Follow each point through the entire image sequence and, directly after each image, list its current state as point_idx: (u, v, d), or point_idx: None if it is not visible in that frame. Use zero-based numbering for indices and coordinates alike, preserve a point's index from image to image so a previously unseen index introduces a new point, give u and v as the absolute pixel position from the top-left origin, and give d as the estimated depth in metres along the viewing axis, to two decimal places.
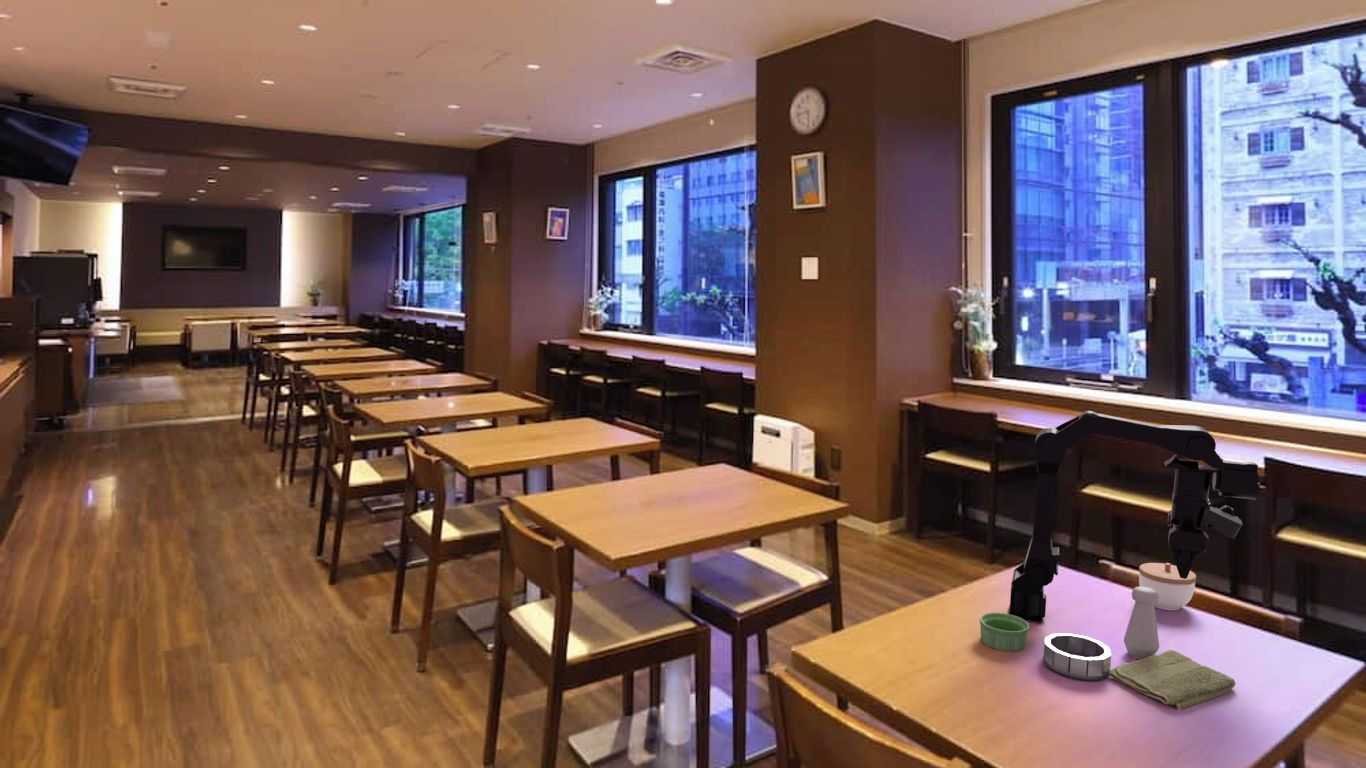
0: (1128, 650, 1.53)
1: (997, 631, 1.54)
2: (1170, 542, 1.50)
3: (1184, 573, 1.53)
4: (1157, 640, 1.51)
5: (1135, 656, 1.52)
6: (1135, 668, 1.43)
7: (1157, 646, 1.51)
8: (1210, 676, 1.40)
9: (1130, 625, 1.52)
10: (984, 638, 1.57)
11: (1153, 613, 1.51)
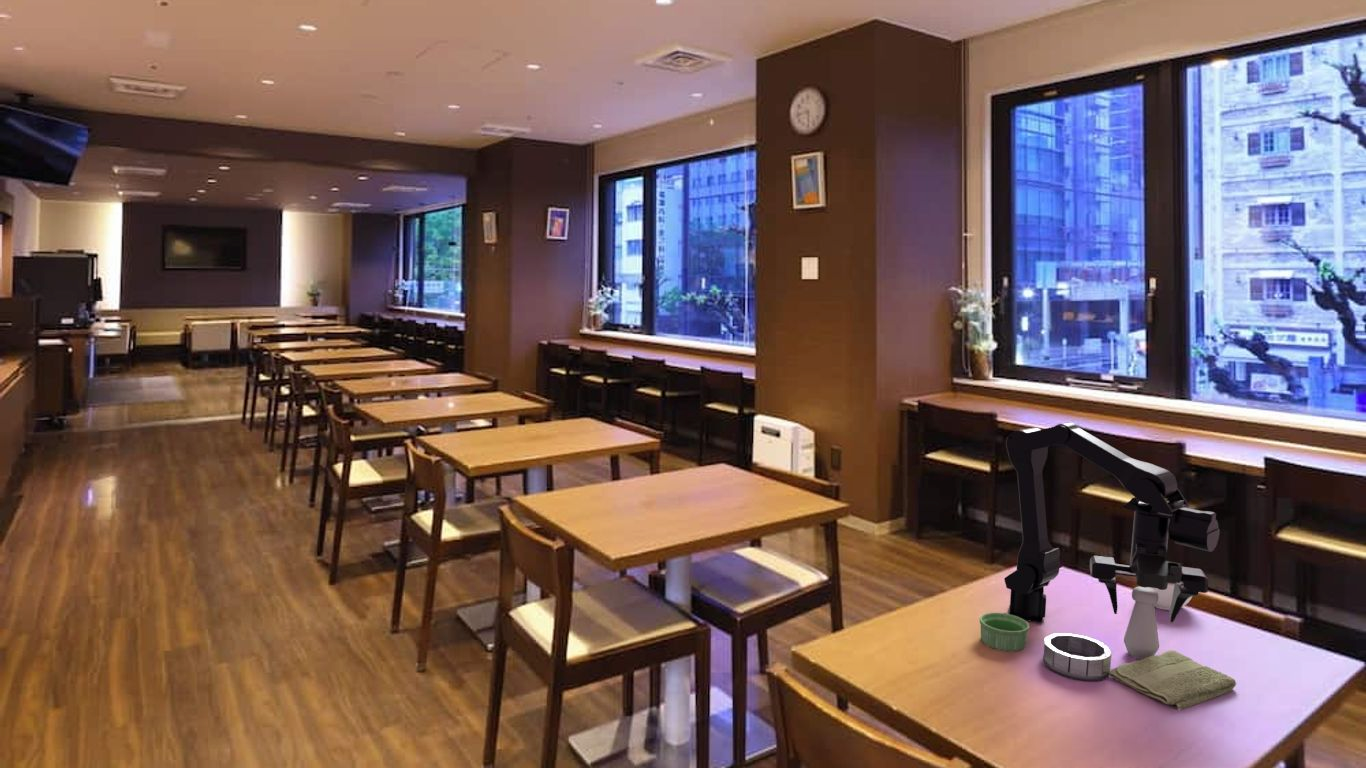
0: (1128, 650, 1.53)
1: (997, 631, 1.54)
2: None
3: None
4: (1157, 640, 1.51)
5: (1135, 656, 1.52)
6: (1136, 668, 1.43)
7: (1157, 646, 1.51)
8: (1210, 676, 1.40)
9: (1130, 625, 1.52)
10: (984, 638, 1.57)
11: (1153, 613, 1.51)
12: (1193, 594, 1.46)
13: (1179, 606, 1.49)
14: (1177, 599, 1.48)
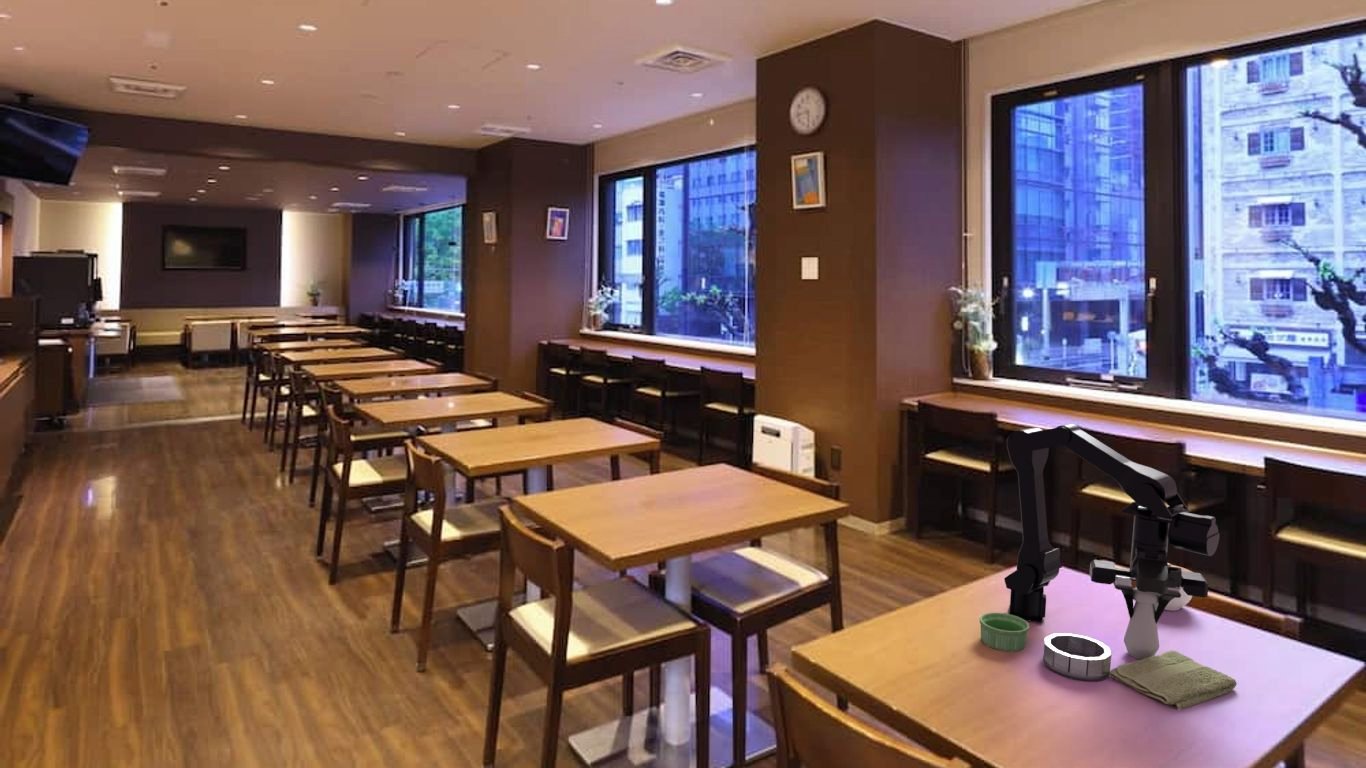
0: (1128, 650, 1.53)
1: (997, 631, 1.54)
2: None
3: (1129, 614, 1.53)
4: (1157, 640, 1.51)
5: (1135, 656, 1.52)
6: (1136, 668, 1.43)
7: (1157, 646, 1.51)
8: (1210, 676, 1.40)
9: (1130, 625, 1.52)
10: (984, 638, 1.57)
11: (1153, 613, 1.51)
12: (1176, 596, 1.47)
13: (1162, 608, 1.50)
14: (1160, 601, 1.50)
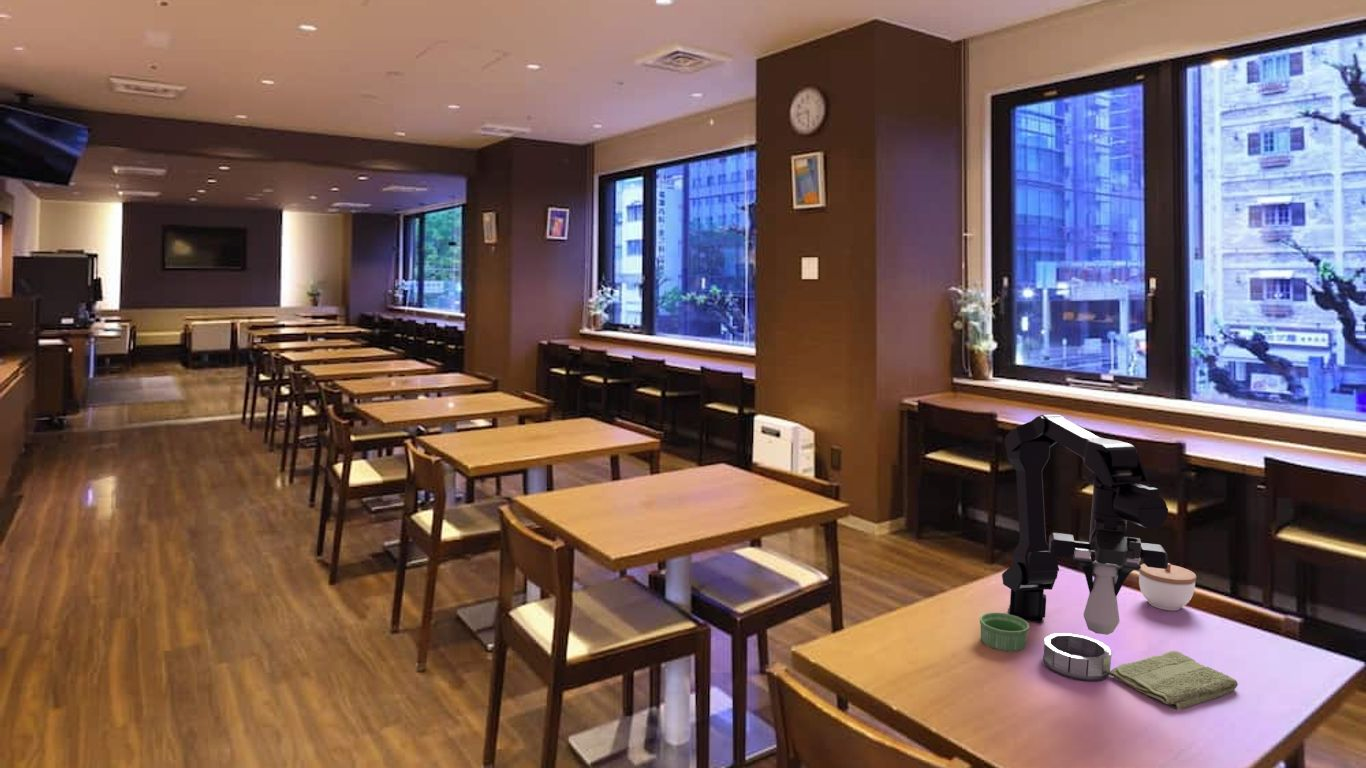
0: (1088, 625, 1.48)
1: (997, 631, 1.54)
2: None
3: None
4: (1117, 614, 1.47)
5: (1095, 631, 1.47)
6: (1136, 668, 1.43)
7: (1117, 620, 1.46)
8: (1211, 677, 1.40)
9: (1090, 599, 1.48)
10: (984, 638, 1.57)
11: (1113, 586, 1.46)
12: (1135, 568, 1.43)
13: (1122, 581, 1.45)
14: (1120, 574, 1.45)
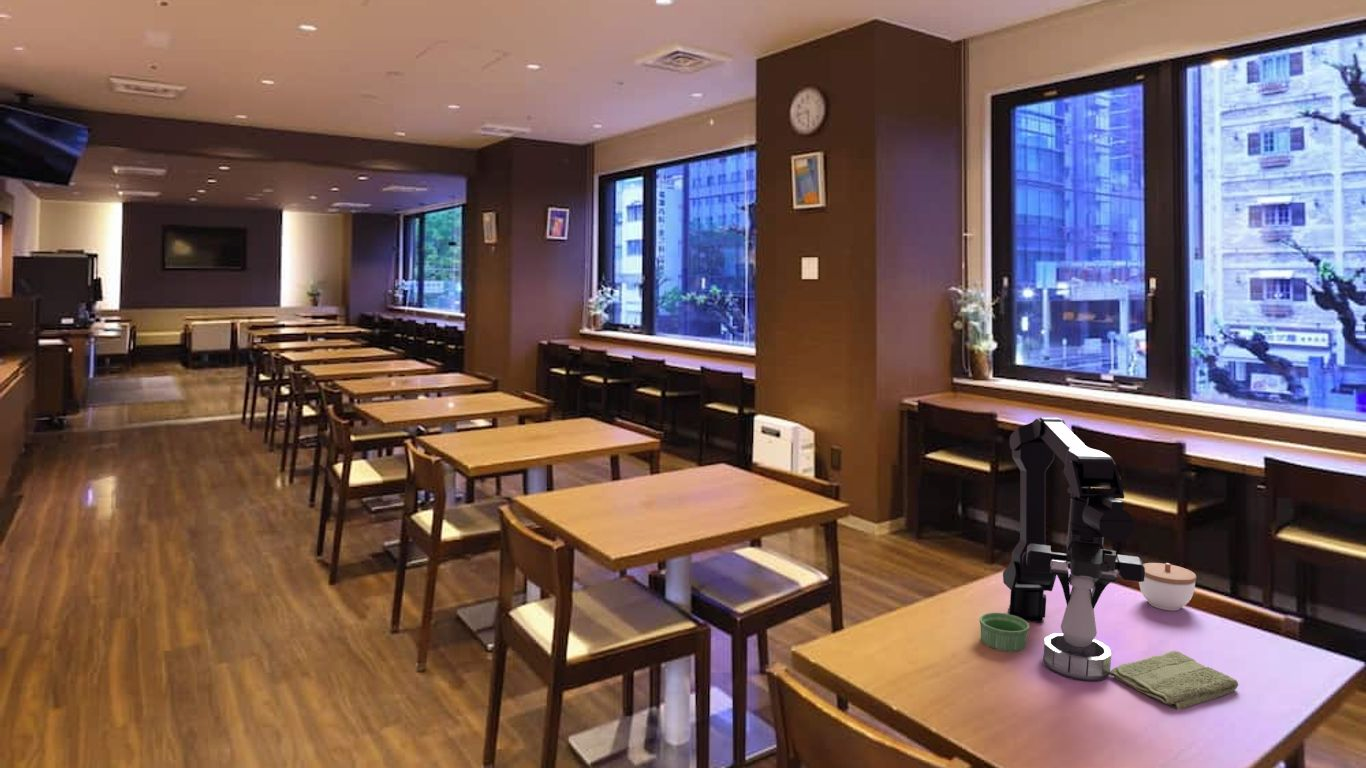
0: (1065, 637, 1.47)
1: (997, 631, 1.54)
2: None
3: None
4: (1094, 626, 1.45)
5: (1072, 643, 1.46)
6: (1137, 668, 1.43)
7: (1094, 633, 1.45)
8: (1212, 677, 1.40)
9: (1067, 611, 1.47)
10: (984, 638, 1.57)
11: (1090, 598, 1.45)
12: (1112, 580, 1.42)
13: (1099, 593, 1.44)
14: (1096, 586, 1.44)
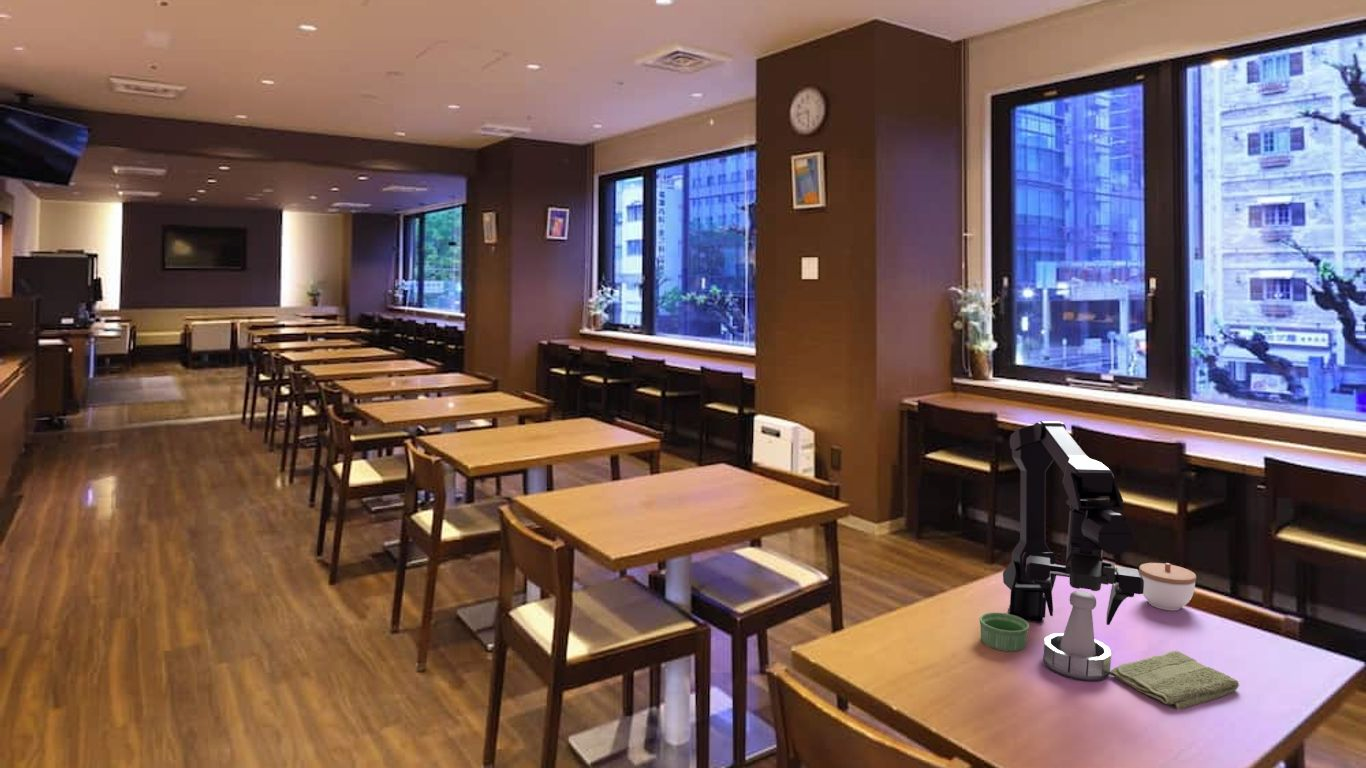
0: None
1: (997, 631, 1.54)
2: None
3: (1048, 609, 1.49)
4: (1093, 647, 1.45)
5: None
6: (1137, 668, 1.43)
7: (1093, 653, 1.45)
8: (1212, 677, 1.40)
9: (1066, 630, 1.47)
10: (984, 637, 1.57)
11: (1090, 619, 1.45)
12: (1128, 595, 1.41)
13: (1115, 608, 1.43)
14: (1113, 601, 1.43)
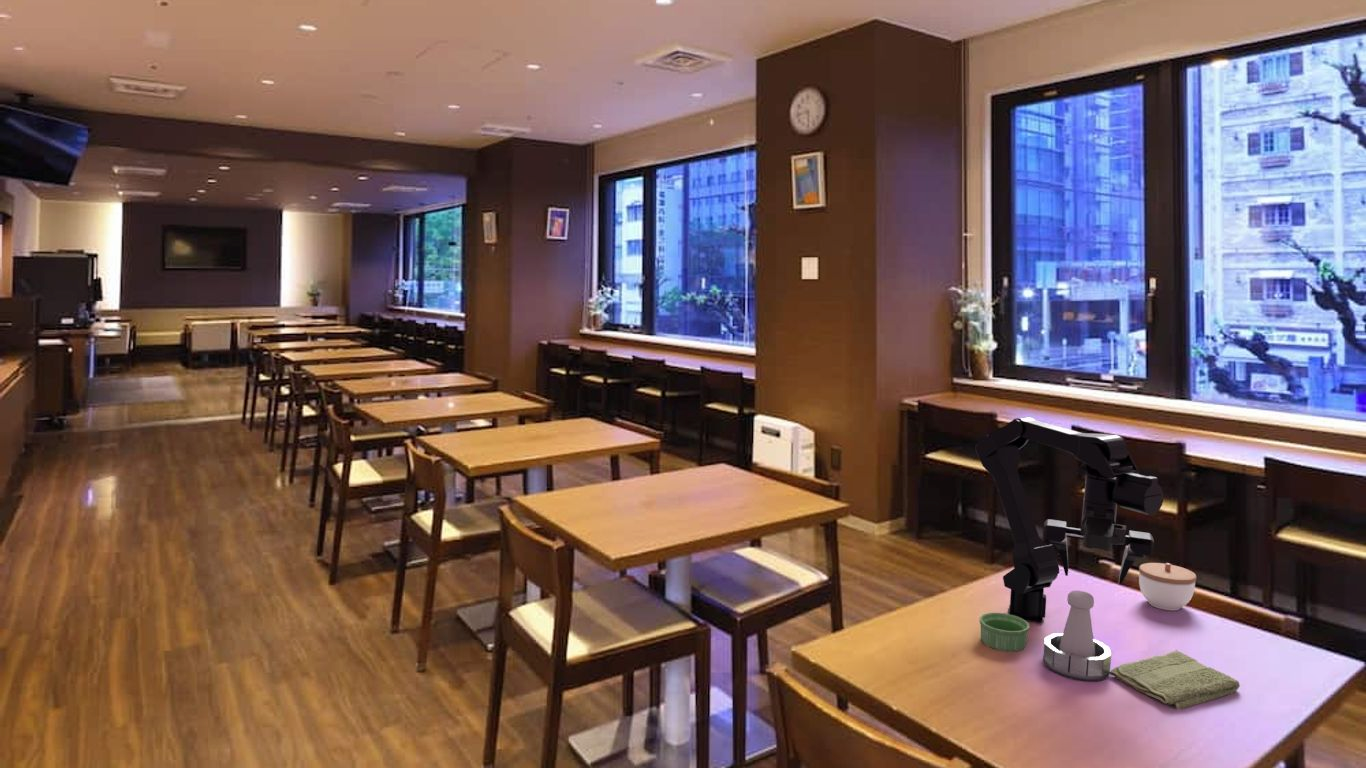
0: None
1: (997, 631, 1.54)
2: None
3: (1064, 569, 1.59)
4: (1092, 646, 1.46)
5: None
6: (1137, 668, 1.43)
7: (1092, 653, 1.45)
8: (1213, 677, 1.40)
9: (1065, 630, 1.47)
10: (984, 638, 1.57)
11: (1088, 618, 1.45)
12: (1139, 556, 1.50)
13: (1127, 568, 1.53)
14: (1125, 561, 1.53)
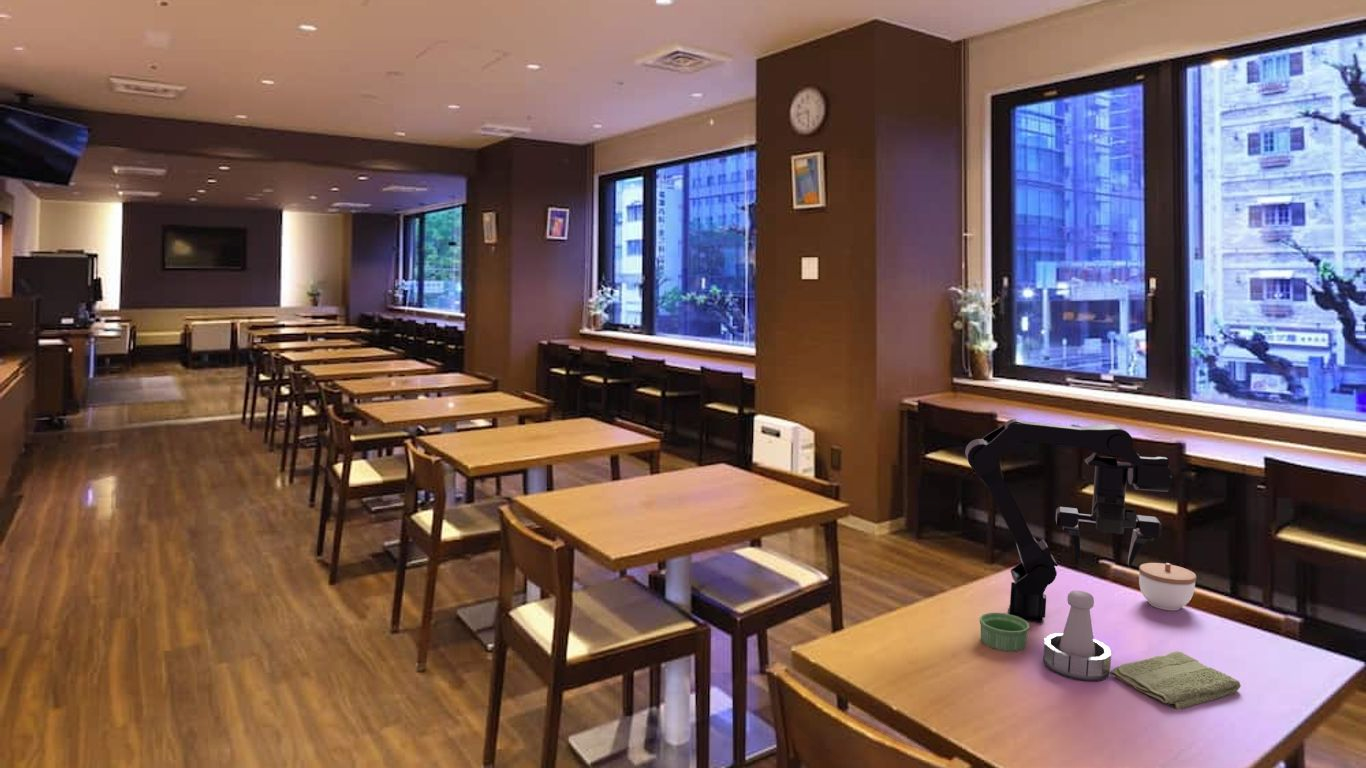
0: None
1: (997, 631, 1.54)
2: None
3: None
4: (1092, 646, 1.46)
5: None
6: (1138, 667, 1.43)
7: (1092, 653, 1.45)
8: (1213, 677, 1.40)
9: (1065, 630, 1.47)
10: (984, 638, 1.57)
11: (1088, 618, 1.45)
12: (1148, 539, 1.60)
13: (1136, 551, 1.62)
14: (1134, 544, 1.62)
